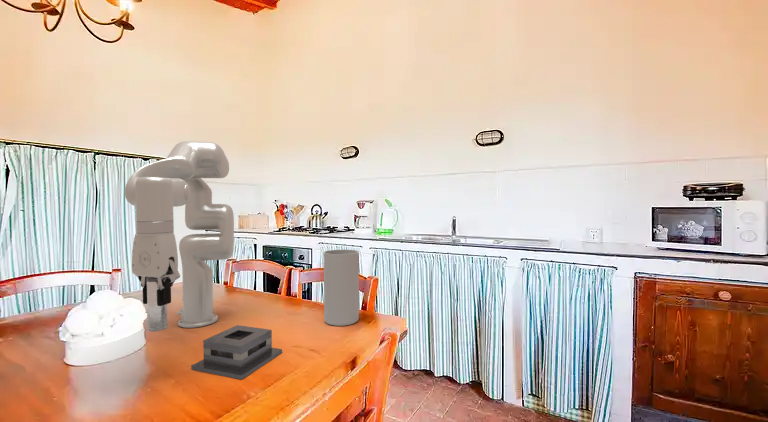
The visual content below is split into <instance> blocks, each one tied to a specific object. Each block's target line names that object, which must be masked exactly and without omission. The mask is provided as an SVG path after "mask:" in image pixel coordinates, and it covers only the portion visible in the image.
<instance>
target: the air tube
mask: <svg viewBox="0 0 768 422" xmlns="http://www.w3.org/2000/svg"><path fill="white" fill-rule="evenodd" d="M165 275H166V274H165ZM165 280H166V278H163V281H165ZM146 281H147V304H146V307H147V308H146V313H147V317H146V318H147V332H154V333H155V332H160V331H163V330H165V329H168V304H166V305H162V306H158V305H157V290H158V289H159V285H158V279H157V278H154V277H146Z"/></svg>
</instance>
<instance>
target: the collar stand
mask: <svg viewBox="0 0 768 422" xmlns="http://www.w3.org/2000/svg"><path fill="white" fill-rule="evenodd" d="M272 338H273V337H272V329H268V328H260V327H254V326H245V325H241V324H240V325H239V324H237V325H234V326H232V327H230V328H227V329H225V330H223V331H221V332H219V333H217V334H214V335H212V336H210V337H208V338H205V339H203V340H202V342H203V345H202V346H203V347H202V348H203V349H202V351H203V358H202V360H199V361H197V362H195V363H194V364H192V365H191V366H190V369H191V370H193V371H197V372H202V373H206V374H211V375H217V376H222V377H226V378H231V379H236V380H244V379H245V378H247V377H248V376H249V375H251V374H253V373H255V372H256V371H257V370H258V369H260V368H261V367H262V368H263V366H265V365H266V364H268V363H269V362H270V361H272V360H274V359H275V358H277V357H278V356H280V355H281V354H283V349H282V348H278V347H277V348H276V347H272V346H273V340H272Z"/></svg>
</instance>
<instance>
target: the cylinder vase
mask: <svg viewBox="0 0 768 422" xmlns="http://www.w3.org/2000/svg"><path fill="white" fill-rule="evenodd" d="M359 252H360V251H359V250H355V249H332V250H331V249H330V250H325V251H323V319H324V320H323V321H324V322H325V323H326V324H328V325H329V326H330V325H331V326H333V327H334V326H335V327H336V326H337V327H342V326H343V327H345V326H350V325H354V324H356V323H357V322H358V321H359V318H360V283H359V282H360V281H359V280H360V278H359V277H360V275H359V274H360V273H359V272H360V271H359V268H360V266H359V265H360V264H359V263H360V261H359V258H360V255H359V254H360V253H359Z"/></svg>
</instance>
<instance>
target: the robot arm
mask: <svg viewBox="0 0 768 422" xmlns="http://www.w3.org/2000/svg"><path fill="white" fill-rule="evenodd" d="M229 171H230V163H229V159H228V158H227V156H226V154H225V151H224V150H223V148H222V147H221V146H220V145H219V144H217V143H216V142H214V141H213V142H212V141H197V140H196V141H195V140H194V141H193V140H186V141H180V142H178V143H177V144H175V146H174V147H173V148H172V149H171V151H170V152H169V154H168V155H167V156H166V158H163V159H160V160H157V161H154V162H151V163H148V164H145V165H143V166H141V167H139V168H137V169H136V170H135V171H134V172H132V174H131V176H130V177H129V178H128V180H127V182H126V183H125V188H124V196H125V199H126V201H127V202H128V203H129V204H130V205H132V206H135V227H136V228H135V229H136V230H135V231H136V234H135V235H134V237H133V242H132V249H131V250H132V253H131V272H132V274H133V275H135V276H136V277H137V279H138V280H139V282H140V287H141V288H142V304H144V305H147V281H146V277H154V278H157V279H158V285H159V289H158V290H157V305H158V306H162V305H166V304H167V305H168V304H171V302H172V287H174V283H175V282H176V281H177V280H179V278H181V274H180V272H179V270H178V269H179V256H180V261H181V268H182V269H181V271H182V307H181V308H180V309H179V310H178V311H177V312H176V315H177V316H181V317H180V319H178V321H177V326H178V327H180V328H186V329H188V328H189V329H190V328H191V329H192V328H193V329H194V328H200V327H204V326H208V325H212V324H214V323H217V321H218V320H219V316H218V315H217V314H216V313H214V283H213V281H214V280H213V279H214V278H213V277H214V275H213V270H212V268H211V267H210V266H209V264H208V263H207V262H209V261H219V260H220V261H222V260H223V261H224V260H228V259H230V258H232V257H233V255H234V249H235V241H234V239H235V229H234V228H235V219H234V218H235V217H234V216H235V214H234V211H233V208H232V207H231V206H230V205H228V204H226V203H213V202H212V201H213V191H212V189H211V188H210V186H209V185H208V183H207V182H205V180H204V179H225V178H226V177H227V176H228V175H229ZM184 205H185V206H184ZM183 206H184V207H185V208H184V222H185V227H186V228H188V229H189V230H192V231H219V233H192V234H188V235H185V236H182V238H181V239H180V241H179V243H178V244H179V245H178V247H177V241H176V235H175V232H174V231H175V230H174V229H175V228H174V227H175V226H174V225H175V224H174V208H175V207H176V208H177V207H183ZM178 251H179V254H180V255H178ZM206 261H207V262H206ZM165 274H166V275H165ZM163 278H166V280H165V281H163Z"/></svg>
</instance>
